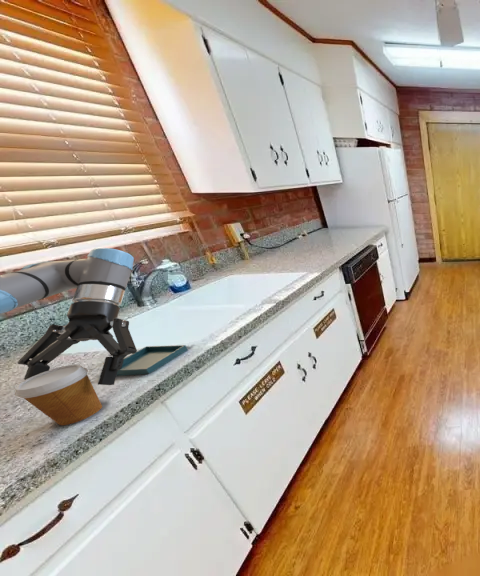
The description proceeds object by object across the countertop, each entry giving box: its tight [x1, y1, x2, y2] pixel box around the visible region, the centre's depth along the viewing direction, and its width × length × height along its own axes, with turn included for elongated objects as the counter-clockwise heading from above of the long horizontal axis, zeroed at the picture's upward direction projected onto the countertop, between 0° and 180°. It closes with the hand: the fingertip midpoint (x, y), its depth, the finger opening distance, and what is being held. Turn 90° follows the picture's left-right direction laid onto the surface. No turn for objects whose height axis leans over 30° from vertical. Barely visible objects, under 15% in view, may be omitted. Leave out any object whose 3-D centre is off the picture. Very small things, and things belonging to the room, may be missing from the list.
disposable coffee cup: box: [14, 364, 103, 426], centre depth 69 cm, size 10×10×12 cm
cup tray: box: [116, 344, 189, 377], centre depth 89 cm, size 12×12×2 cm
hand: (69, 389), depth 69 cm, fingers open, 13 cm apart
